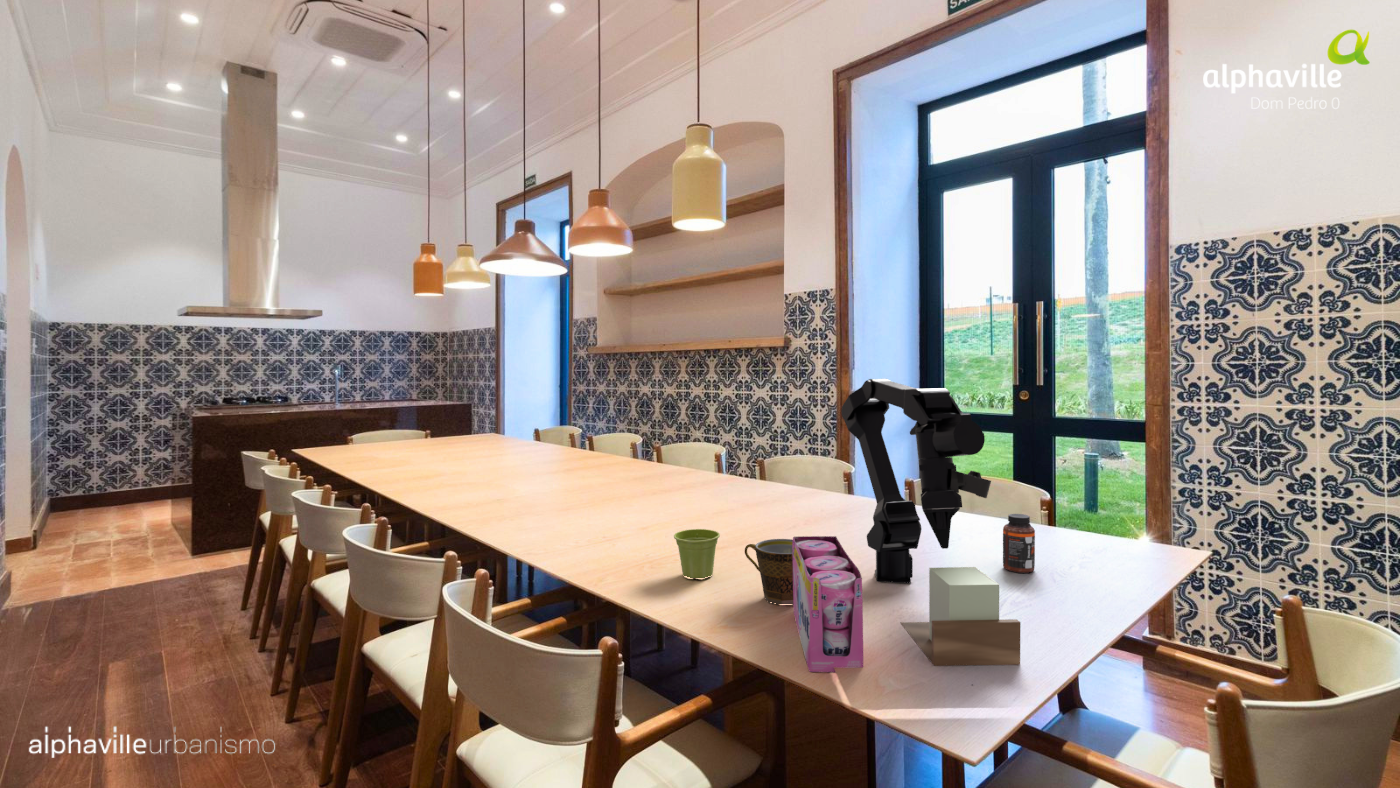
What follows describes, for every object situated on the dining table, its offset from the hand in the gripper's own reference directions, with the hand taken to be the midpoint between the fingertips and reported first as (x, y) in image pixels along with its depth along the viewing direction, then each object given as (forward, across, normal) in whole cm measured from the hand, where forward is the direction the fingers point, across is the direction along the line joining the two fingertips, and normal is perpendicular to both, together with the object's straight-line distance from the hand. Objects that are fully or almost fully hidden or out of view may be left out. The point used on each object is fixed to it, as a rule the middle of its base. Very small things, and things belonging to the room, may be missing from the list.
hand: (944, 548), depth 113 cm
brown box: (+13, -14, 0) cm, 19 cm away
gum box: (+12, -16, +20) cm, 28 cm away
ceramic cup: (+8, -1, +30) cm, 32 cm away
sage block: (+13, -16, 0) cm, 21 cm away
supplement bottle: (+8, +29, -15) cm, 34 cm away
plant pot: (+5, +7, +48) cm, 49 cm away
